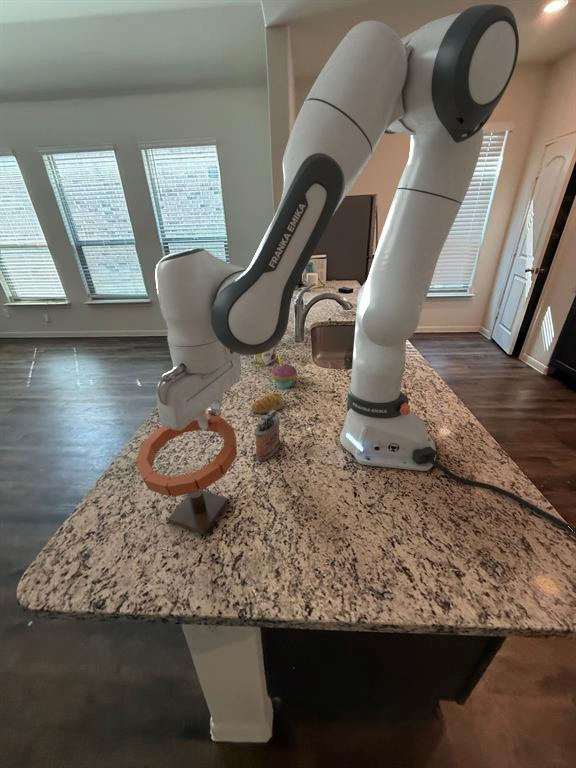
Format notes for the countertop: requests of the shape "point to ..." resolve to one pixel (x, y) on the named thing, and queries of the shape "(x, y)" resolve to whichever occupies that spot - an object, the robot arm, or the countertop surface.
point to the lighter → (267, 436)
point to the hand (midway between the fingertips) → (210, 422)
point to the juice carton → (266, 356)
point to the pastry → (268, 403)
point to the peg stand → (198, 511)
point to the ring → (192, 480)
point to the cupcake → (283, 374)
